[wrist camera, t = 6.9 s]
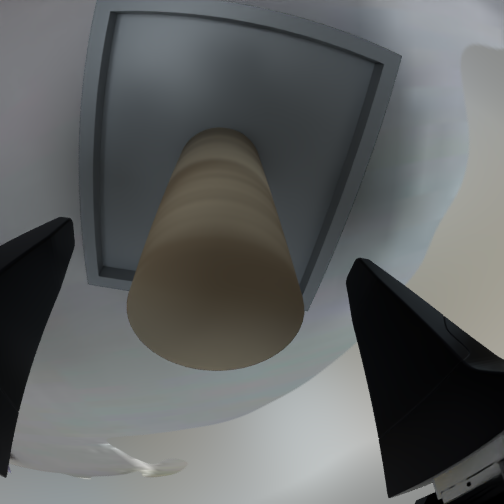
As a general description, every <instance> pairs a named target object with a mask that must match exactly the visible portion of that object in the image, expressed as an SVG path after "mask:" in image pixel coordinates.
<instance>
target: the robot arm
mask: <svg viewBox="0 0 504 504" xmlns="http://www.w3.org/2000/svg"><path fill="white" fill-rule="evenodd" d="M74 246H75V240H74V230H73V222H72V220H71V219H70V218H65V217H58V218H56V219H54V220H52V221H50V222H47V223H45V224H43V225H41V226H39V227H37V228H35V229H33V230H31V231H29V232H26V233H24V234H22V235H20V236H18V237H16V238H14V239H12V240H11V241H9V242H7V243H5V244H3V245H1V246H0V475H1V476H3V477H5V478H6V477H7V472H8V465H9V459H10V453H11V447H12V442H13V437H14V432H15V427H16V423H17V418H18V414H19V412H18V411H19V409H20V405H21V401H22V397H23V394H24V390H25V386H26V383H27V380H28V376H29V373H30V370H31V366H32V363H33V360H34V357H35V354H36V351H37V348H38V345H39V343H40V340H41V337H42V334H43V331H44V329H45V326H46V323H47V321H48V318H49V316H50V313H51V311H52V308H53V306H54V303H55V301H56V299H57V296H58V294H59V291H60V289H61V286H62V283H63V280H64V277H65V274H66V270H67V267H68V264H69V262H70V259H71V256H72V253H73V250H74ZM346 286H347V292H348V298H349V304H350V310H351V317H352V322H353V326H354V331H355V334H356V338H357V342H358V346H359V350H360V354H361V358H362V362H363V367H364V371H365V375H366V380H367V384H368V389H369V392H370V398H371V402H372V407H373V412H374V416H375V422H376V426H377V432H378V438H379V444H380V449H381V455H382V461H383V467H384V474H385V480H386V487H387V494H388V498H391V497H394V496H398V495H400V494H404V493H407V492H410V491H412V490H415V489H418V488H420V487H423V486H426V485H428V484H430V483H433V485H434V488H435V493H432V494H430V495H428V496H425V497H423V498H421V499H419V500H416V502H415V504H504V359H502V358H500V357H498V356H497V355H495V354H494V353H492V352H491V351H490V350H489V349H487V348H486V347H484V346H483V345H482V344H480V343H479V342H478V341H476V340H475V339H474V338H472V337H471V336H470V335H468V334H467V333H466V332H464V331H463V330H462V329H460V328H459V327H458V326H456V325H455V324H454V323H453V322H451V321H450V320H449V319H448V318H446V317H445V316H443V315H442V314H441V313H440V312H439V311H437V310H436V309H435V308H433V307H432V306H431V305H430V304H428V303H427V302H426V301H424V300H423V299H422V298H420V297H419V296H418V295H417V294H415V293H414V292H413V291H411V290H410V289H409V288H407V287H406V286H405V285H403V284H402V283H401V282H399V281H398V280H396V279H395V278H394V277H392V276H391V275H390V274H388V273H387V272H386V271H384V270H383V269H381V268H380V267H379V266H377V265H376V264H374V263H373V262H372V261H370V260H369V259H363V258H358V259H356V260H355V262H354V264H353V266H352V268H351V270H350V272H349V274H348V276H347V280H346Z"/></svg>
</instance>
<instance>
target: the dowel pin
mask: <svg viewBox="0 0 504 504" xmlns="http://www.w3.org/2000/svg"><path fill="white" fill-rule="evenodd" d="M127 314H128V319H129V322H130V325H131V327H132V329H133V331H134V332H135V334H136V335H137V337H138V338H139V339H140V340H141V341H142V342H143V343H144V344H145V345H146V346H147V347H148V348H149V349H150V350H152V351H153V352H154V353H156V354H158V355H159V356H161V357H163V358H165V359H166V360H168V361H171V362H173V363H176V364H179V365H182V366H185V367H189V368H194V369H200V370H211V371H223V370H234V369H240V368H245V367H248V366H252V365H255V364H258V363H260V362H263V361H265V360H267V359H269V358H271V357H273V356H274V355H276V354H278V353H279V352H280V351H282V350H283V349H284V348H285V347H286V346H287V345H288V344H289V343H290V342H291V341H292V340H293V339H294V337H295V336H296V335H297V333H298V331H299V329H300V327H301V325H302V322H303V317H304V302H303V297H302V293H301V290H300V286H299V283H298V280H297V276H296V273H295V269H294V266H293V263H292V259H291V256H290V253H289V249H288V246H287V243H286V239H285V236H284V233H283V230H282V226H281V223H280V220H279V217H278V213H277V210H276V207H275V204H274V201H273V198H272V194H271V191H270V188H269V185H268V182H267V179H266V176H265V173H264V170H263V167H262V164H261V161H260V158H259V155H258V152H257V150H256V148H255V146H254V144H253V143H252V142H251V141H250V140H249V139H248V138H247V137H246V136H245V135H243V134H242V133H240V132H238V131H236V130H233V129H229V128H222V127H221V128H210V129H207V130H204V131H202V132H200V133H198V134H196V135H195V136H194V137H192V138H191V139H190V140H189V141H188V142H187V144H186V145H185V147H184V148H183V150H182V152H181V155H180V157H179V159H178V162H177V164H176V166H175V169H174V171H173V173H172V176H171V178H170V180H169V183H168V185H167V188H166V190H165V193H164V195H163V198H162V200H161V203H160V205H159V208H158V210H157V213H156V216H155V218H154V221H153V224H152V226H151V229H150V232H149V235H148V237H147V240H146V243H145V246H144V249H143V251H142V254H141V257H140V260H139V263H138V266H137V269H136V272H135V275H134V278H133V281H132V284H131V288H130V291H129V294H128V299H127Z"/></svg>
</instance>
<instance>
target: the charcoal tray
mask: <svg viewBox="0 0 504 504" xmlns="http://www.w3.org/2000/svg"><path fill="white" fill-rule="evenodd" d="M401 58H402V56H401V55H399V54H397V53H395V52H392V51H390V50H388V49H386V48H384V47H381V46H379V45H377V44H374V43H372V42H370V41H367V40H365V39H362V38H360V37H357V36H355V35H352V34H349V33H347V32H344V31H341V30H338V29H336V28H333V27H330V26H327V25H324V24H321V23H317V22H314V21H311V20H307V19H304V18H301V17H297V16H293V15H289V14H286V13H282V12H278V11H273V10H269V9H264V8H260V7H255V6H250V5H244V4H239V3H233V2H227V1H220V0H97V2H96V6H95V11H94V15H93V20H92V25H91V31H90V36H89V42H88V48H87V55H86V62H85V69H84V78H83V87H82V98H81V111H80V130H79V194H80V213H81V227H82V239H83V249H84V258H85V266H86V273H87V280H88V284H89V285H95V286H101V287H107V288H113V289H120V290H126V291H130V288H131V284H132V281H133V278H134V275H135V272H136V269H137V266H138V263H139V260H140V257H141V254H142V251H143V249H144V246H145V243H146V240H147V237H148V235H149V232H150V229H151V226H152V224H153V221H154V218H155V216H156V213H157V210H158V208H159V205H160V203H161V200H162V198H163V195H164V193H165V190H166V188H167V185H168V183H169V180H170V178H171V176H172V173H173V171H174V169H175V166H176V164H177V162H178V159H179V157H180V155H181V152H182V150H183V148H184V147H185V145H186V144H187V142H188V141H189V140H190V139H191V138H192V137H194V136H195V135H196V134H198V133H200V132H202V131H204V130H207V129H210V128H221V127H222V128H229V129H233V130H236V131H238V132H240V133H242V134H243V135H245V136H246V137H247V138H248V139H249V140H250V141H251V142H252V143H253V144H254V146H255V148H256V150H257V152H258V155H259V158H260V161H261V164H262V167H263V170H264V173H265V176H266V179H267V182H268V185H269V188H270V191H271V194H272V198H273V201H274V204H275V207H276V210H277V213H278V217H279V220H280V223H281V226H282V230H283V233H284V236H285V239H286V243H287V246H288V249H289V253H290V256H291V259H292V263H293V266H294V269H295V273H296V276H297V280H298V283H299V286H300V290H301V293H302V297H303V302H304V311H308V309H309V307H310V305H311V303H312V301H313V299H314V296H315V294H316V292H317V290H318V287H319V285H320V283H321V281H322V278H323V276H324V274H325V272H326V269H327V267H328V265H329V262H330V260H331V258H332V255H333V253H334V250H335V248H336V246H337V243H338V241H339V238H340V236H341V233H342V231H343V229H344V226H345V224H346V221H347V219H348V216H349V213H350V211H351V208H352V206H353V203H354V201H355V198H356V195H357V193H358V190H359V187H360V185H361V182H362V179H363V177H364V174H365V171H366V168H367V165H368V163H369V160H370V157H371V154H372V151H373V148H374V145H375V143H376V140H377V137H378V134H379V131H380V128H381V125H382V121H383V118H384V115H385V112H386V109H387V106H388V103H389V99H390V96H391V93H392V89H393V86H394V83H395V79H396V76H397V72H398V69H399V65H400V62H401Z"/></svg>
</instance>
